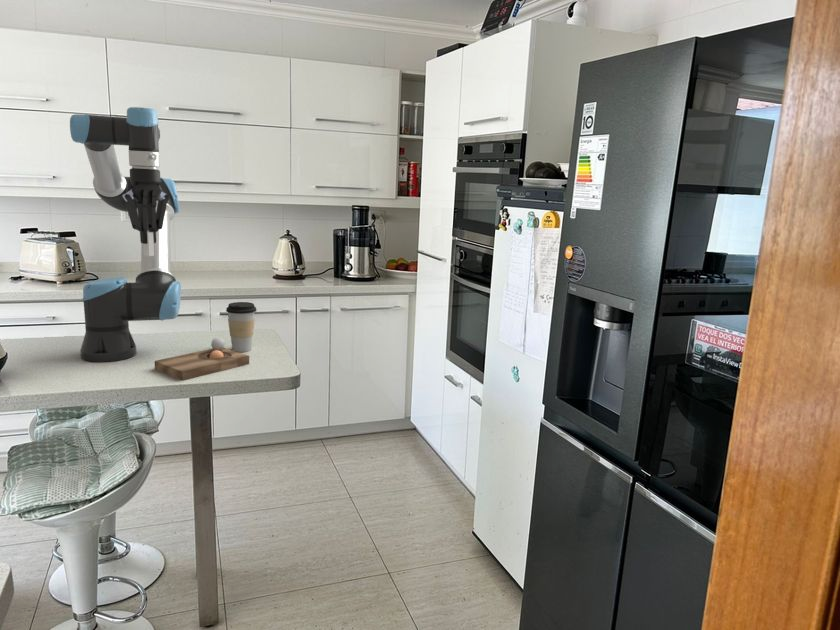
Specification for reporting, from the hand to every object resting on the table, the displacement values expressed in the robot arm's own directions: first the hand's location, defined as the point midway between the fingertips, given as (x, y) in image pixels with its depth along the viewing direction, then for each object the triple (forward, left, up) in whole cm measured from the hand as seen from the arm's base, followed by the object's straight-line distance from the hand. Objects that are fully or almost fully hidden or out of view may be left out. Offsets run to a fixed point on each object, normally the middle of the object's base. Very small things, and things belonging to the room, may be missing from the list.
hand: (149, 255), depth 170 cm
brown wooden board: (+9, +10, -32) cm, 35 cm away
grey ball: (+5, +18, -28) cm, 34 cm away
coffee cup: (+2, +29, -33) cm, 44 cm away
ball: (+9, +14, -30) cm, 35 cm away
